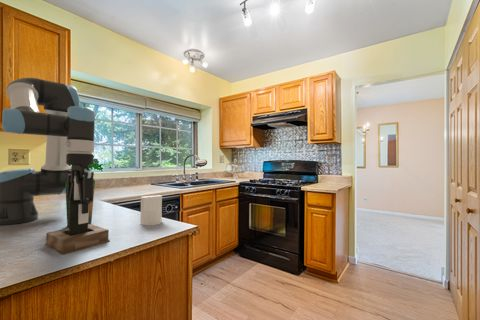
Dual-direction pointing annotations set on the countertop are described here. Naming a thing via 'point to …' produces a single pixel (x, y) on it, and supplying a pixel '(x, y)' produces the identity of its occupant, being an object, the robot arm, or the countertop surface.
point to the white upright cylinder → (151, 210)
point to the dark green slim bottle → (75, 214)
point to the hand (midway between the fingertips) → (78, 221)
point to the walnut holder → (76, 239)
